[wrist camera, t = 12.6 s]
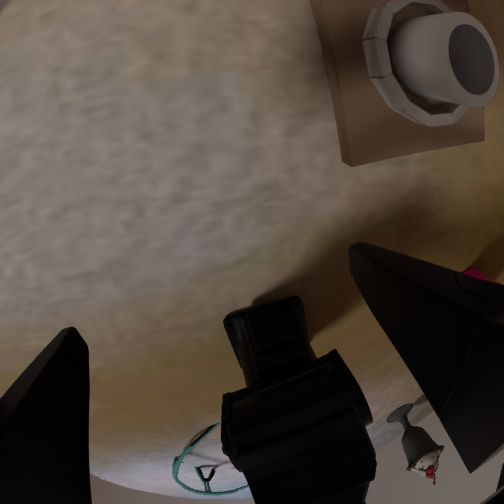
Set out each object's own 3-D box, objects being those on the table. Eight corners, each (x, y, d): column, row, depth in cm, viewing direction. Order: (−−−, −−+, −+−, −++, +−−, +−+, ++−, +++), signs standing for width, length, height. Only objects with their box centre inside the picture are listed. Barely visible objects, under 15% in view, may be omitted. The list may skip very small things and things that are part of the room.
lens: (453, 96, 18) (504, 107, 13) (394, 100, 17) (447, 110, 13) (441, 22, 15) (492, 19, 10) (379, 16, 14) (430, 4, 10)
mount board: (472, 136, 21) (496, 145, 19) (342, 161, 21) (363, 173, 18) (451, -13, 14) (475, -16, 12) (301, -31, 13) (318, -46, 11)
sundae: (392, 406, 40) (434, 482, 27) (422, 396, 42) (465, 464, 29) (375, 428, 43) (410, 499, 30) (405, 419, 45) (441, 483, 32)
